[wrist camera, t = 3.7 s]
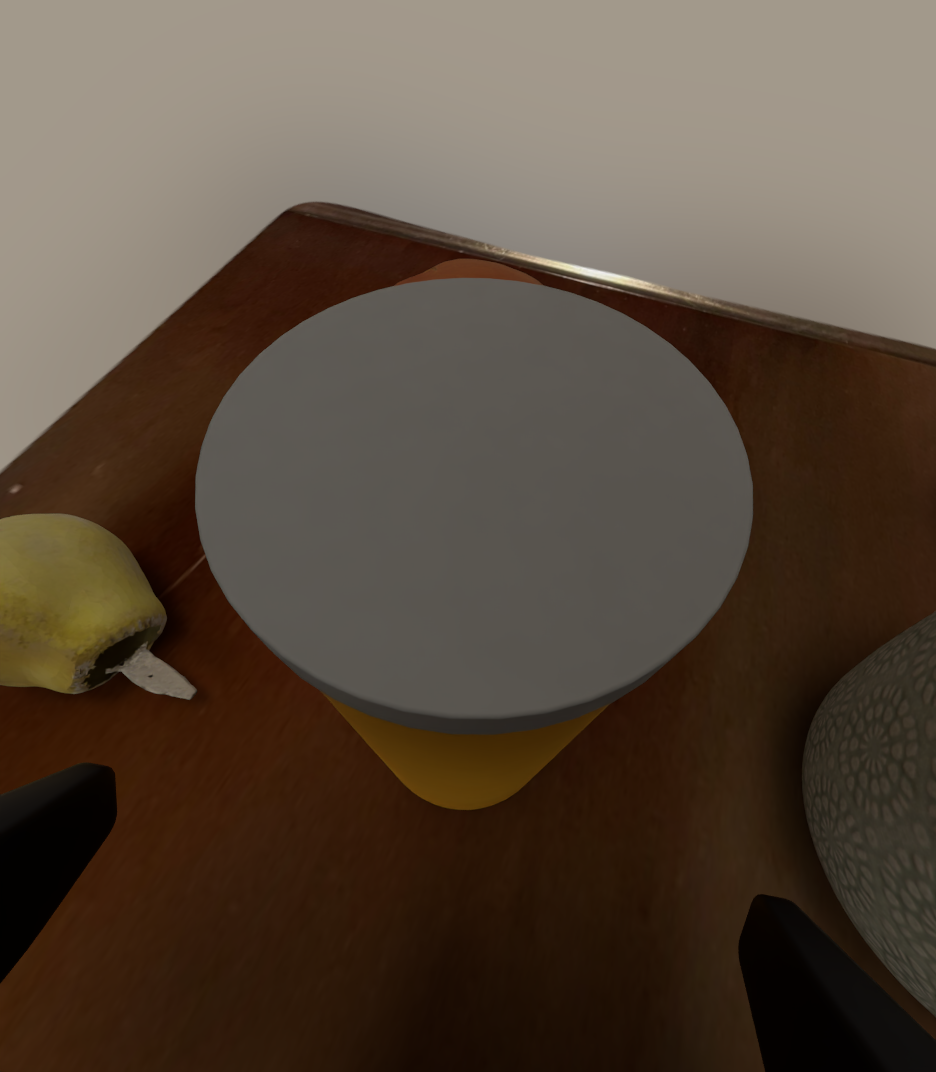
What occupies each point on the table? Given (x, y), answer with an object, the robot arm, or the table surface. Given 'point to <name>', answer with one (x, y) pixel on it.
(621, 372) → the snack tube
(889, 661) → the planter
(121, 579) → the fruit
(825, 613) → the table surface
